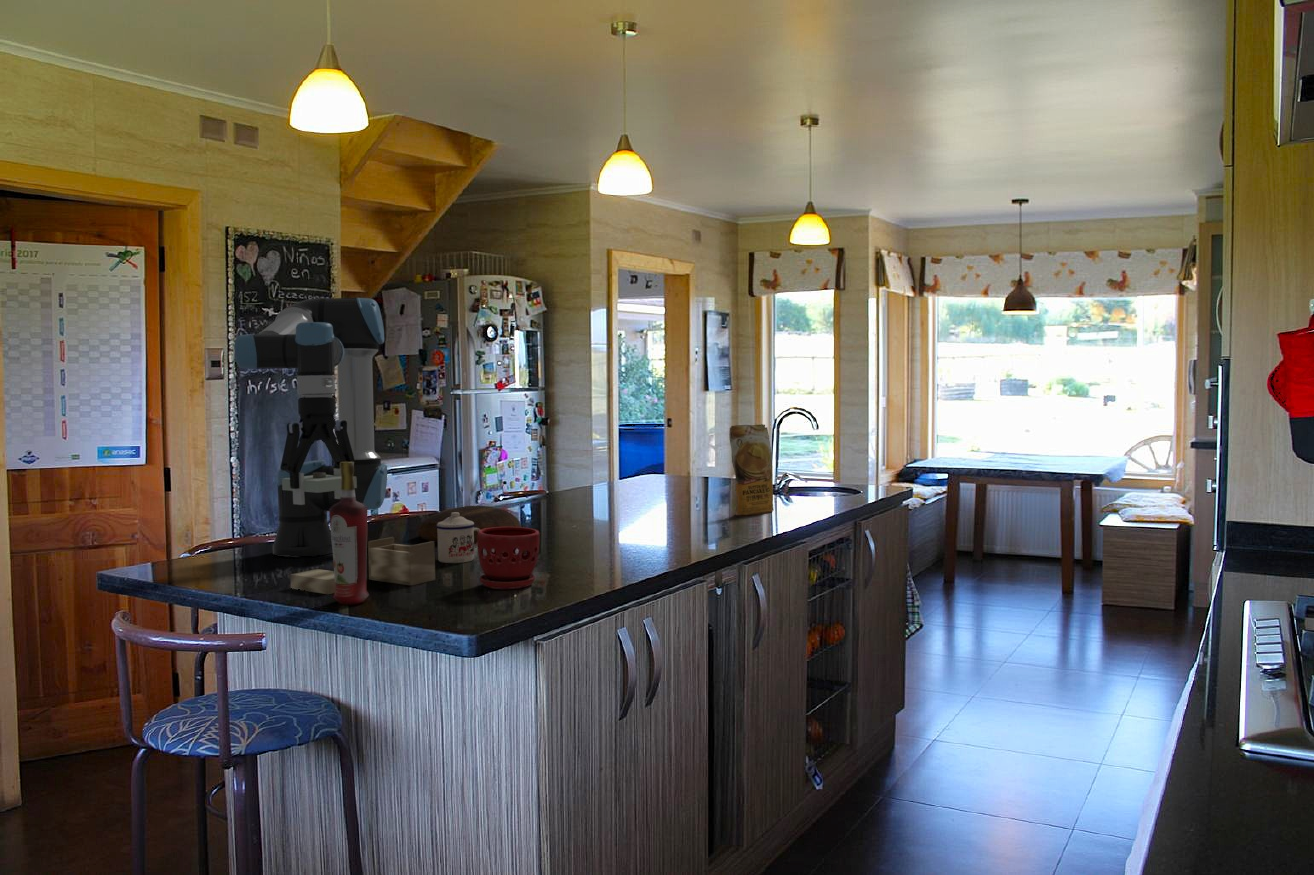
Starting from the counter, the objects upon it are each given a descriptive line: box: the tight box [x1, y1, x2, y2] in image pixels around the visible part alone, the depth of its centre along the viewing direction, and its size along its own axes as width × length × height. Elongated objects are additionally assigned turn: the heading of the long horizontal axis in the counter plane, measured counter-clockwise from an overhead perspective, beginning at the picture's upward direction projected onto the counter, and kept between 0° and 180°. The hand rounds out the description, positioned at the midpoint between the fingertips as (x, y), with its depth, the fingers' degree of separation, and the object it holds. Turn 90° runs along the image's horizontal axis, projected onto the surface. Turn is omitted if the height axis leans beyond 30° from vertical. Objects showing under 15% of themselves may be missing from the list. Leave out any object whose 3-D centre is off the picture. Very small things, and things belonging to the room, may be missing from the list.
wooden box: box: [367, 536, 436, 586], centre depth 230 cm, size 13×7×8 cm, turn 57°
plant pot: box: [477, 526, 541, 590], centre depth 222 cm, size 13×13×12 cm
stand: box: [289, 568, 335, 595], centre depth 222 cm, size 12×7×3 cm, turn 57°
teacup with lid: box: [436, 512, 480, 564], centre depth 254 cm, size 12×9×12 cm
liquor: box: [328, 462, 370, 606], centre depth 207 cm, size 7×7×28 cm
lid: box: [282, 472, 357, 493], centre depth 221 cm, size 11×10×3 cm
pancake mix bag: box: [728, 423, 774, 516], centre depth 329 cm, size 7×19×28 cm, turn 128°
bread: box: [416, 505, 522, 545], centre depth 289 cm, size 28×27×9 cm
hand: (320, 501), depth 221 cm, fingers closed on lid, 10 cm apart
